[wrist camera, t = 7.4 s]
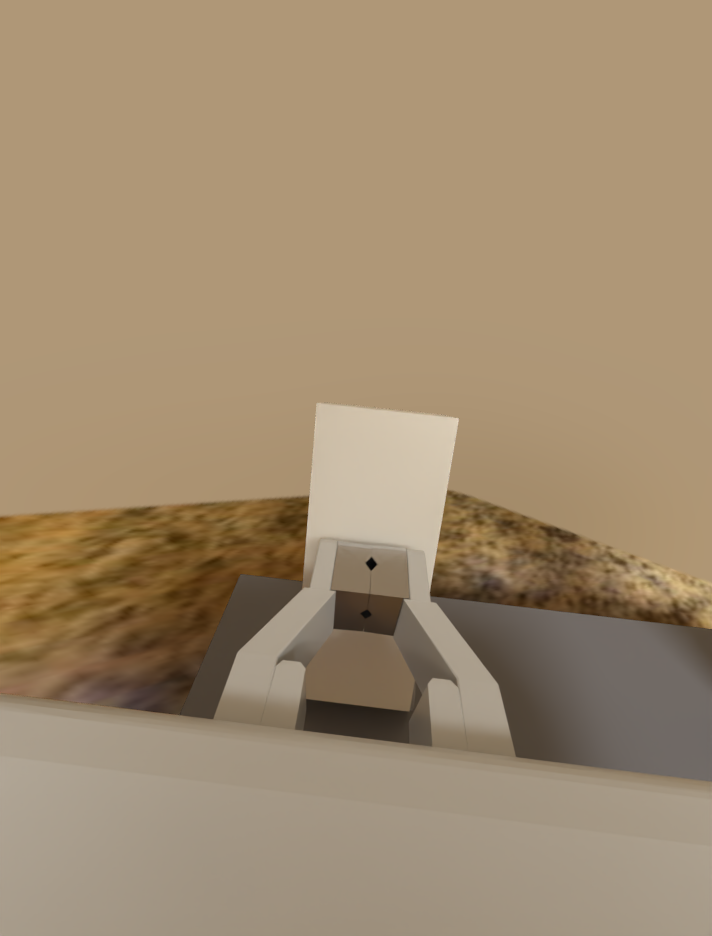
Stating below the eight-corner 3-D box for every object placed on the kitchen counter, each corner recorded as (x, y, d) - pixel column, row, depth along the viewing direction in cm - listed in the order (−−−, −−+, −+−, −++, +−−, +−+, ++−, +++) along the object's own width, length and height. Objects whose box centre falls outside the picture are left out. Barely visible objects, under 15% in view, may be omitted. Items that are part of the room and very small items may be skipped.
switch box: (1009, 976, 12) (1256, 993, 9) (168, 864, 12) (121, 842, 9) (768, 689, 19) (855, 643, 16) (251, 627, 19) (240, 571, 16)
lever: (412, 729, 11) (466, 419, 9) (286, 713, 12) (309, 402, 9) (406, 680, 13) (449, 415, 11) (298, 667, 13) (320, 401, 11)
